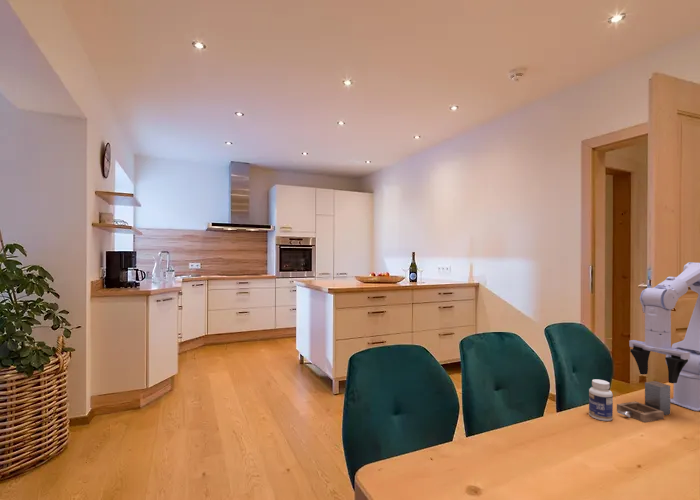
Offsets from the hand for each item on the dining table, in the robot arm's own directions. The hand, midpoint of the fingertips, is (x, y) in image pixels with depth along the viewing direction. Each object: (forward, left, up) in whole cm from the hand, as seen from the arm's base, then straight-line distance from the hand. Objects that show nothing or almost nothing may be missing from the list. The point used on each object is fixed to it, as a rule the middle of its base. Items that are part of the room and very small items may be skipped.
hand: (657, 378), depth 105 cm
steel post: (0, 0, -10) cm, 10 cm away
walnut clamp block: (+8, 0, -10) cm, 13 cm away
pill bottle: (+19, -2, -10) cm, 22 cm away
